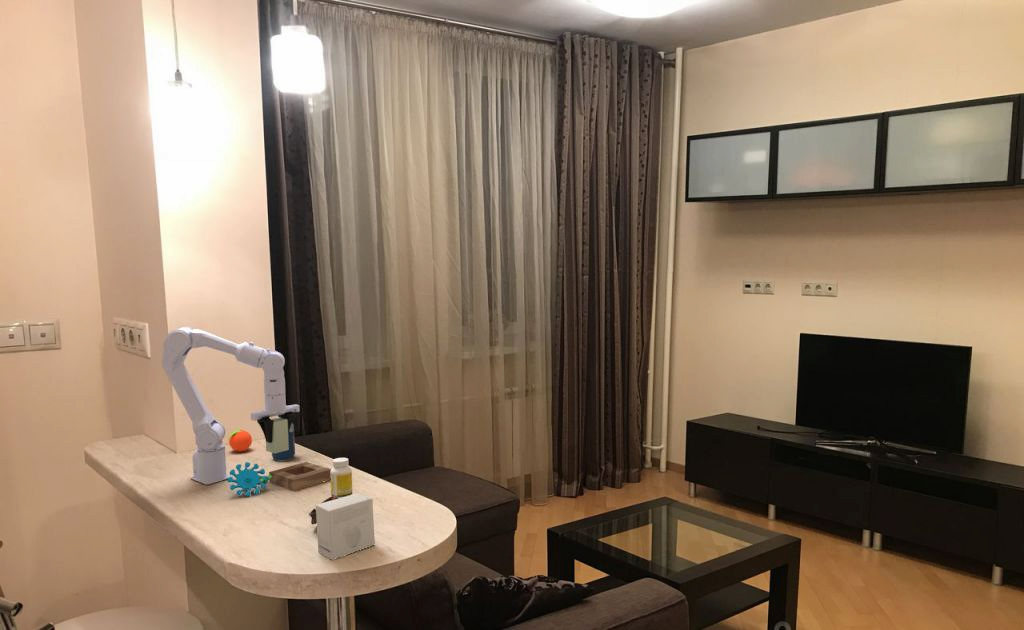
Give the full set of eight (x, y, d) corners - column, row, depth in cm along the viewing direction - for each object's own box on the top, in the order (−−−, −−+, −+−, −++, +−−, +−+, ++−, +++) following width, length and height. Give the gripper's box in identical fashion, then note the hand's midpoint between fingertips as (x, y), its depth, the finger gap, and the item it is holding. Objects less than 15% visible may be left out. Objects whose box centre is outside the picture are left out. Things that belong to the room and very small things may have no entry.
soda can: (299, 457, 220) (298, 419, 219) (282, 462, 214) (280, 424, 213) (285, 454, 224) (283, 417, 223) (267, 459, 218) (265, 421, 217)
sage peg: (266, 450, 202) (264, 420, 201) (280, 447, 205) (278, 417, 205) (274, 453, 199) (273, 422, 198) (288, 449, 203) (287, 419, 202)
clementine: (235, 456, 222) (234, 434, 222) (222, 453, 226) (221, 431, 226) (256, 450, 229) (255, 428, 229) (243, 447, 233) (242, 426, 232)
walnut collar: (269, 482, 195) (269, 471, 195) (306, 471, 204) (306, 461, 204) (294, 490, 188) (293, 480, 187) (331, 479, 197) (331, 469, 197)
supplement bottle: (356, 494, 184) (355, 458, 183) (343, 501, 179) (342, 463, 178) (340, 492, 186) (338, 455, 185) (326, 498, 181) (325, 461, 180)
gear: (228, 495, 180) (228, 460, 186) (225, 506, 184) (225, 472, 190) (272, 493, 185) (271, 460, 192) (268, 504, 189) (267, 471, 195)
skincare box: (360, 537, 155) (358, 491, 154) (375, 546, 151) (374, 498, 150) (316, 551, 148) (314, 503, 147) (331, 560, 143) (329, 511, 143)
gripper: (259, 399, 193) (261, 448, 194) (304, 391, 204) (306, 437, 205) (245, 396, 197) (248, 444, 198) (290, 388, 208) (292, 433, 210)
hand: (277, 440), depth 202 cm, fingers closed on sage peg, 4 cm apart
